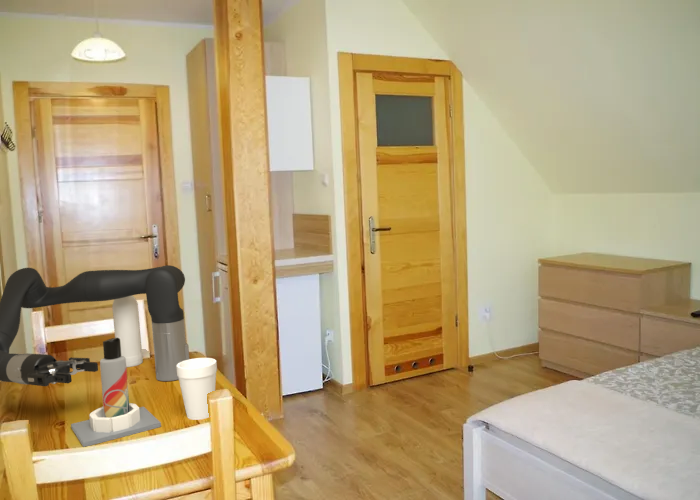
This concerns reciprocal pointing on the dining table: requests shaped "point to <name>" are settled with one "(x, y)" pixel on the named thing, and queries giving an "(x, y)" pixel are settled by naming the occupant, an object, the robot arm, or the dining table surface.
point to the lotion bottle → (114, 380)
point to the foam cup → (197, 385)
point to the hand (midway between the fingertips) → (83, 372)
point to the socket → (114, 425)
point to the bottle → (128, 329)
